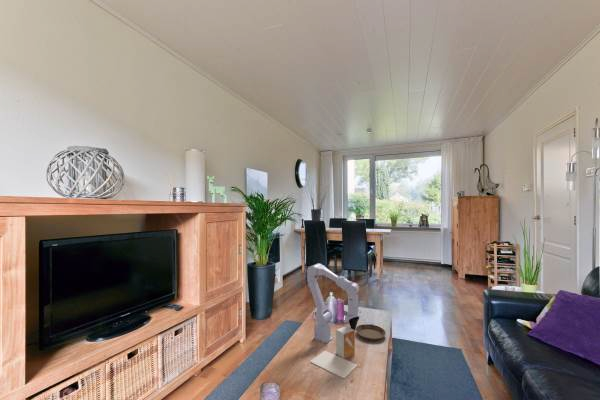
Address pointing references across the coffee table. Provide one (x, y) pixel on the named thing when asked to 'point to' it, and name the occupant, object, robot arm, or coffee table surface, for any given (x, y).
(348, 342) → the small box
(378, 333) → the plant saucer
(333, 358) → the mat
